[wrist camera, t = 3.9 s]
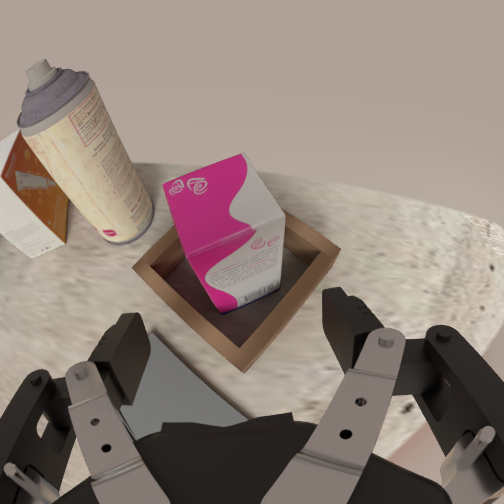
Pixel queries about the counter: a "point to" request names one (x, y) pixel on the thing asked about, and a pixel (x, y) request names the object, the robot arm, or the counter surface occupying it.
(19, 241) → the small box
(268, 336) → the tray
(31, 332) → the counter surface
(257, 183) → the supplement box
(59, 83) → the aerosol can
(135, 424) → the slate mat
